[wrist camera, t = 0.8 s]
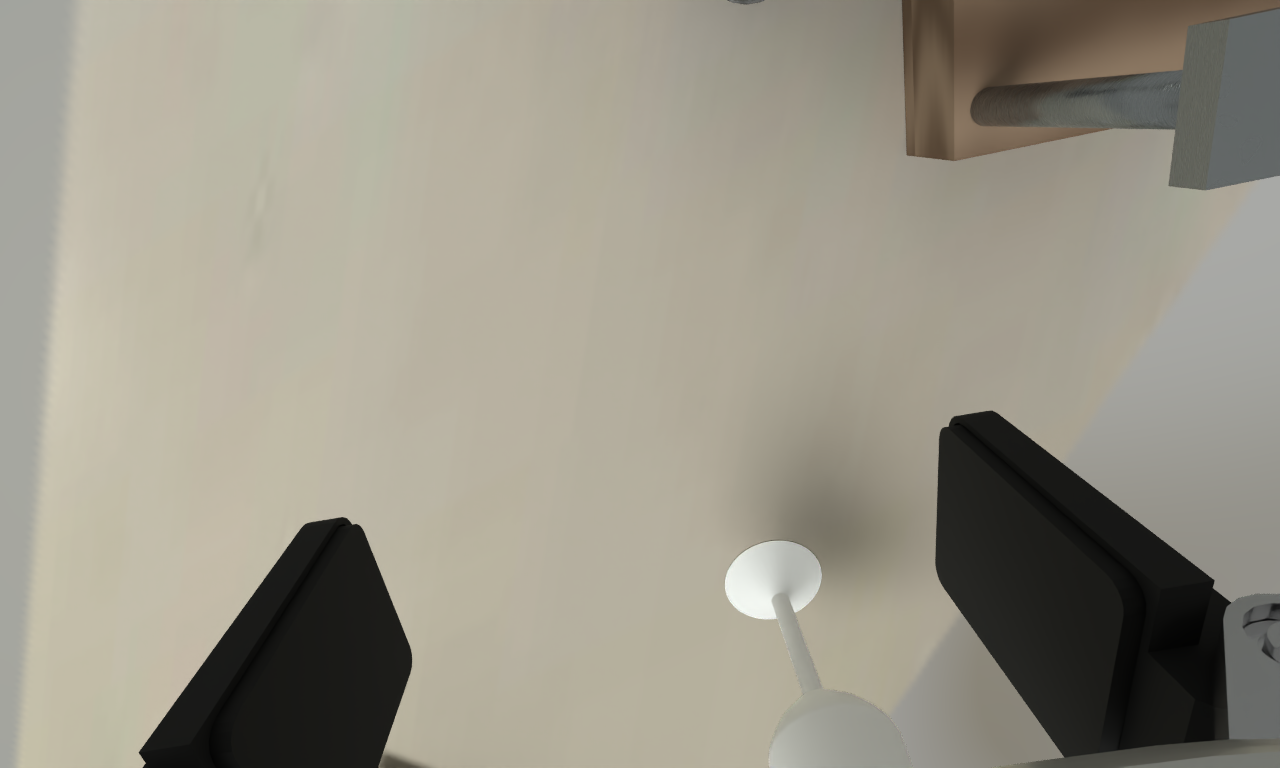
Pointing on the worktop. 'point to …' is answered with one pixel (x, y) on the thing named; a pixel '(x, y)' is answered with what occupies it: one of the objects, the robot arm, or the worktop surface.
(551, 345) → the worktop surface
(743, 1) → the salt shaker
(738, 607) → the champagne flute
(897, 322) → the worktop surface
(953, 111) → the socket board
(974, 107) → the grey metal arch
